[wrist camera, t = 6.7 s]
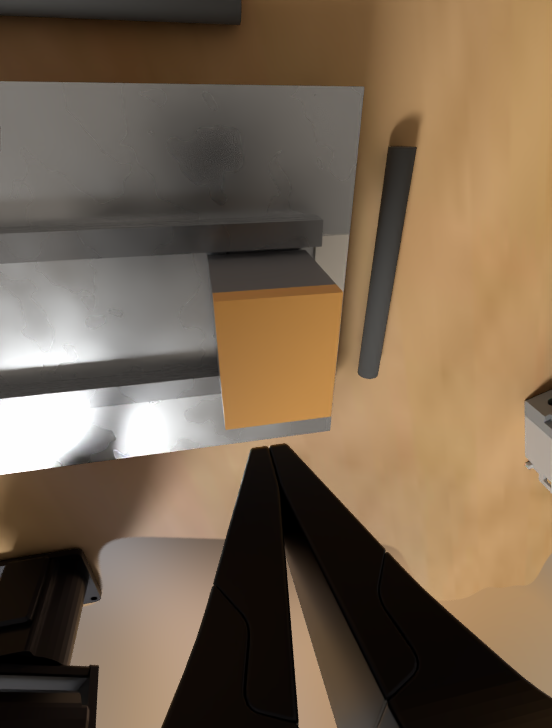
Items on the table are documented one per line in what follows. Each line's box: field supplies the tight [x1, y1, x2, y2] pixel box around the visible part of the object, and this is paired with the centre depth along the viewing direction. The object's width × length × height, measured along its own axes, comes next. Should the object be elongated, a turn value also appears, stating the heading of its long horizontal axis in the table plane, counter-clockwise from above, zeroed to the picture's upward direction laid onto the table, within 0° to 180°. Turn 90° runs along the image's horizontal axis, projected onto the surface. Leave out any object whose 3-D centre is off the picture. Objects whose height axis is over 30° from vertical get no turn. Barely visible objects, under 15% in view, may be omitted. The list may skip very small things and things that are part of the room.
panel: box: [0, 81, 364, 475], centre depth 17 cm, size 16×20×4 cm
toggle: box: [207, 250, 343, 430], centre depth 15 cm, size 5×4×5 cm
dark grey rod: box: [358, 146, 417, 379], centre depth 20 cm, size 12×1×1 cm, turn 0°
